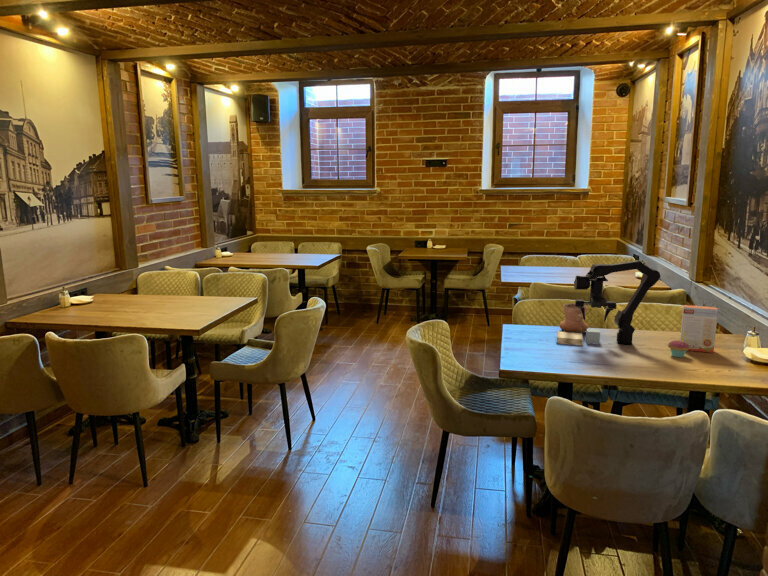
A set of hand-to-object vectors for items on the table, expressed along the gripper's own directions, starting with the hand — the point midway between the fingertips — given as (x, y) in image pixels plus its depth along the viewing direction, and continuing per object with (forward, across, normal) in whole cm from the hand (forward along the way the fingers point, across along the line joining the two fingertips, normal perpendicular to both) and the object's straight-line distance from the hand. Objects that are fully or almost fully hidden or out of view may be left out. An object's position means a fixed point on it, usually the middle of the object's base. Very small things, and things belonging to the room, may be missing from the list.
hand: (594, 320), depth 274 cm
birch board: (+11, -11, -2) cm, 16 cm away
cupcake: (+11, +36, -12) cm, 39 cm away
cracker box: (+11, +46, +1) cm, 47 cm away
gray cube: (+11, 0, 0) cm, 11 cm away
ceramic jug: (+11, -9, +18) cm, 23 cm away
